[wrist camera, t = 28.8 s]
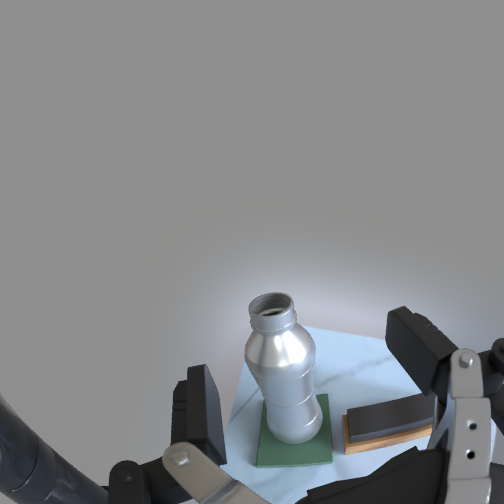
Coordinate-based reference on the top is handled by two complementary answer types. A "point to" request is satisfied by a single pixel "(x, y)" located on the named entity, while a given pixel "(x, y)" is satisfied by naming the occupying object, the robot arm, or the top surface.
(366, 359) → the top surface
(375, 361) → the top surface
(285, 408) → the silver metal bottle
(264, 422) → the drying mat
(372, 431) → the grey and wooden block
